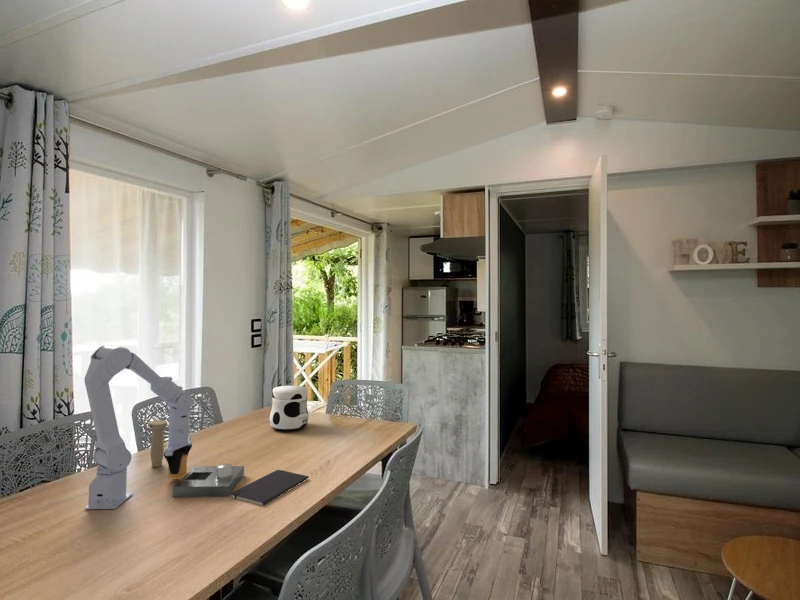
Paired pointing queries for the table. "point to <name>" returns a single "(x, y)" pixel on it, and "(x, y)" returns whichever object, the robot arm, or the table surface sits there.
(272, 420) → the milk container
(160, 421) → the handle
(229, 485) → the hub plate
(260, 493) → the notebook
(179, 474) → the orange rectangular block
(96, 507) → the robot arm
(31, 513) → the table surface
